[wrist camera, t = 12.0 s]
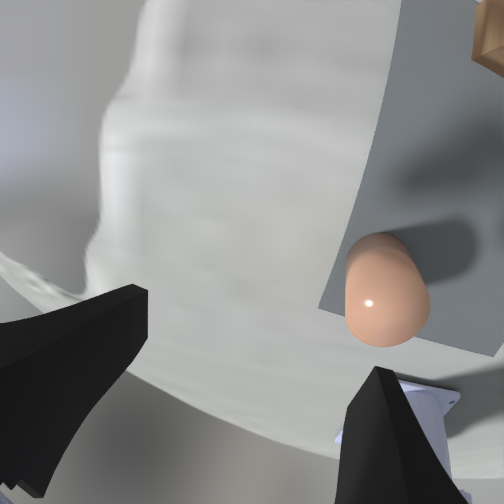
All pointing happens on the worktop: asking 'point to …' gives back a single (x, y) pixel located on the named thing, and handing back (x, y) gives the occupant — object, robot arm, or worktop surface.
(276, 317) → the worktop surface
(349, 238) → the mat
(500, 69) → the walnut block
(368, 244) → the peach capsule
